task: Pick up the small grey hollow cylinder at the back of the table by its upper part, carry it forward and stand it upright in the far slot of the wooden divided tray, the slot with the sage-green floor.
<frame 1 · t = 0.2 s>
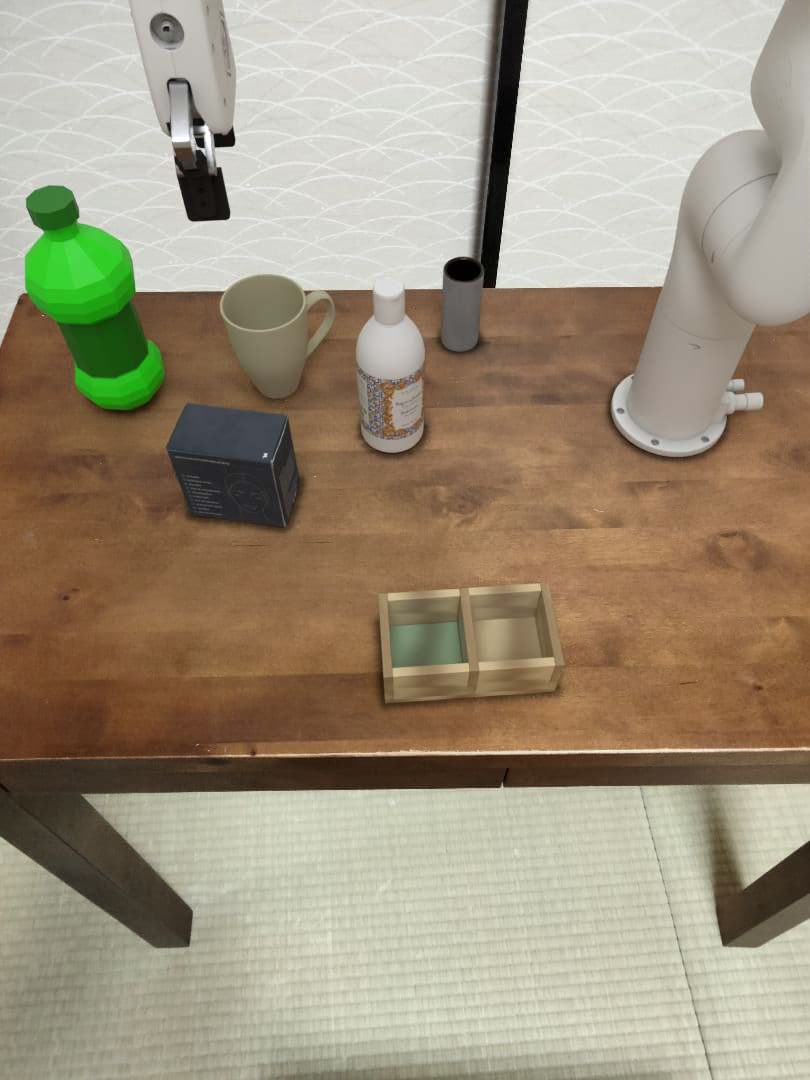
hand: (213, 180, 65), 31 cm above the table, tool pointing down, fingers open, 9 cm apart
box: (246, 498, 86), on the table
grey hollow cylinder: (459, 340, 99), on the table
bath foam: (392, 432, 91), on the table
wooden divided tray: (465, 656, 76), on the table
mug: (285, 379, 96), on the table
plastic bottle: (129, 394, 94), on the table
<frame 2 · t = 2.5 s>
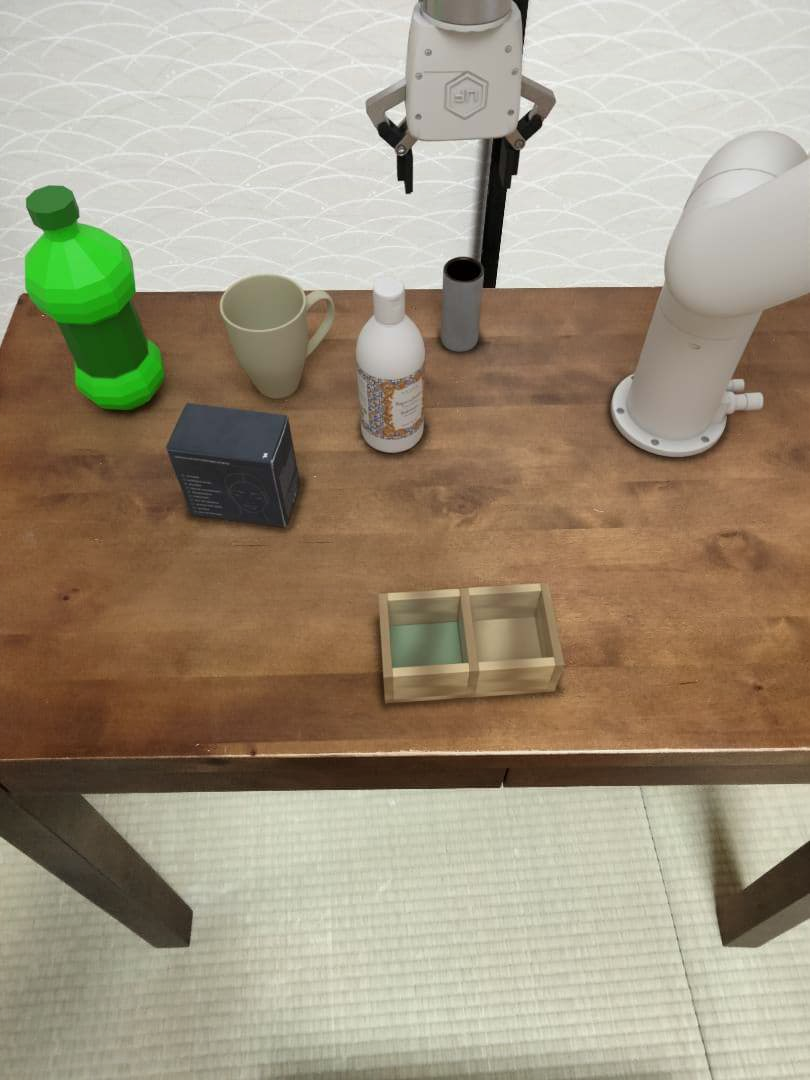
hand: (456, 183, 81), 21 cm above the table, tool pointing down, fingers open, 9 cm apart
nothing on the table moved.
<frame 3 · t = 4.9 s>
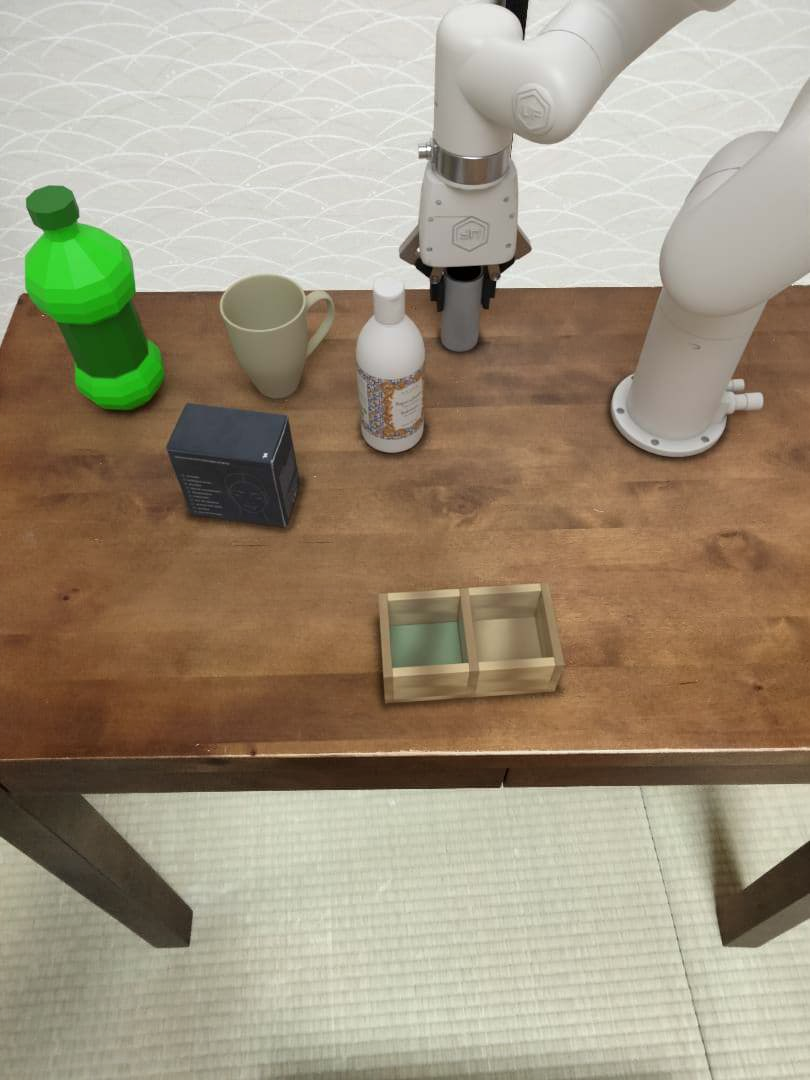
hand: (461, 301, 94), 6 cm above the table, tool pointing down, fingers closed on grey hollow cylinder, 4 cm apart
grey hollow cylinder: (459, 340, 99), on the table, touching gripper
everything else where it was.
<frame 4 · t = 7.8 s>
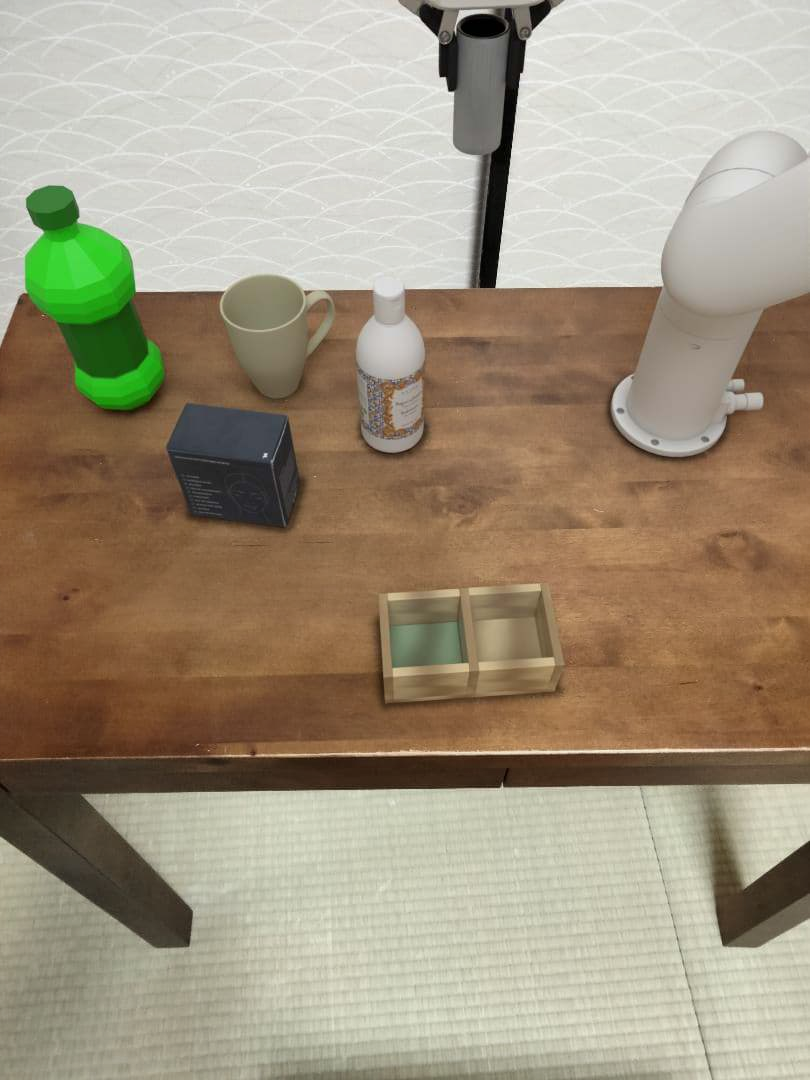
hand: (480, 80, 73), 31 cm above the table, tool pointing down, fingers closed on grey hollow cylinder, 4 cm apart
grey hollow cylinder: (476, 144, 77), point 25 cm above the table, touching gripper
everything else where it was.
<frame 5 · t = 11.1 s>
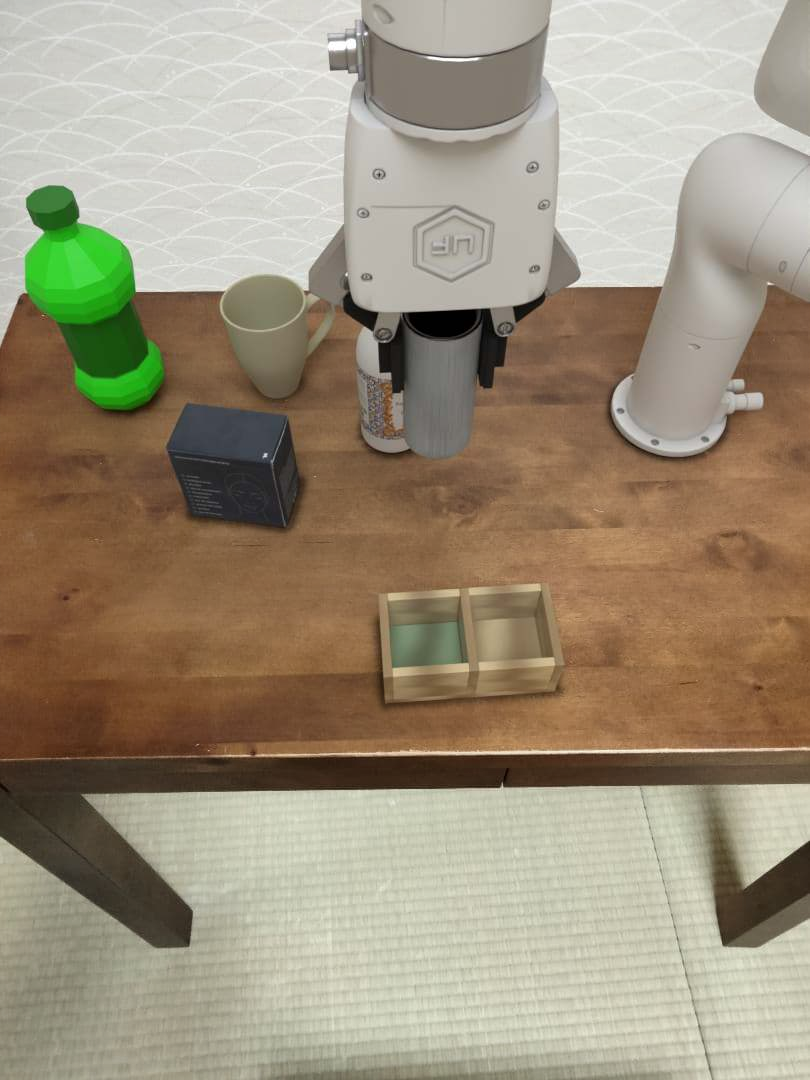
hand: (440, 371, 49), 34 cm above the table, tool pointing down, fingers closed on grey hollow cylinder, 4 cm apart
grey hollow cylinder: (437, 435, 54), point 28 cm above the table, touching gripper
everything else where it was.
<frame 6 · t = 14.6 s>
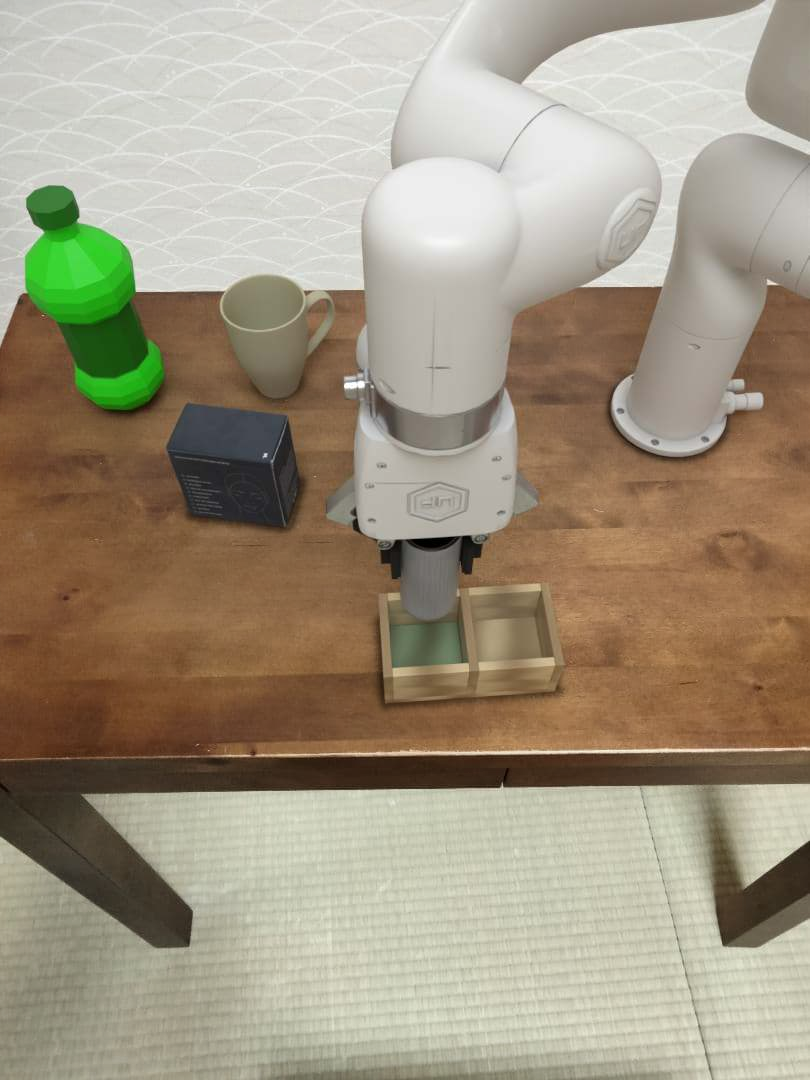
hand: (429, 559, 61), 18 cm above the table, tool pointing down, fingers closed on grey hollow cylinder, 4 cm apart
grey hollow cylinder: (428, 597, 66), point 12 cm above the table, touching gripper
everything else where it was.
when the fingers open (7 cm above the table, at t = 17.4 s): grey hollow cylinder stays where it is, resting on wooden divided tray.
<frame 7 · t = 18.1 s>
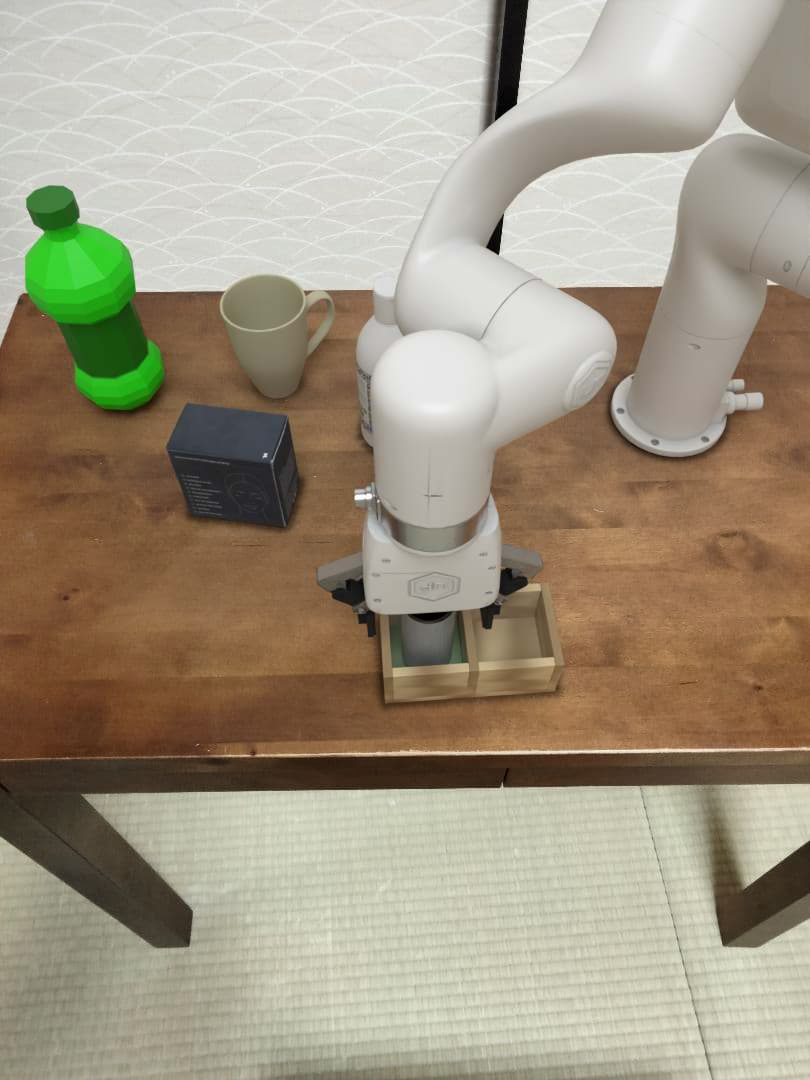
hand: (428, 617, 69), 8 cm above the table, tool pointing down, fingers open, 9 cm apart
grey hollow cylinder: (426, 654, 75), point 1 cm above the table, touching wooden divided tray
everything else where it was.
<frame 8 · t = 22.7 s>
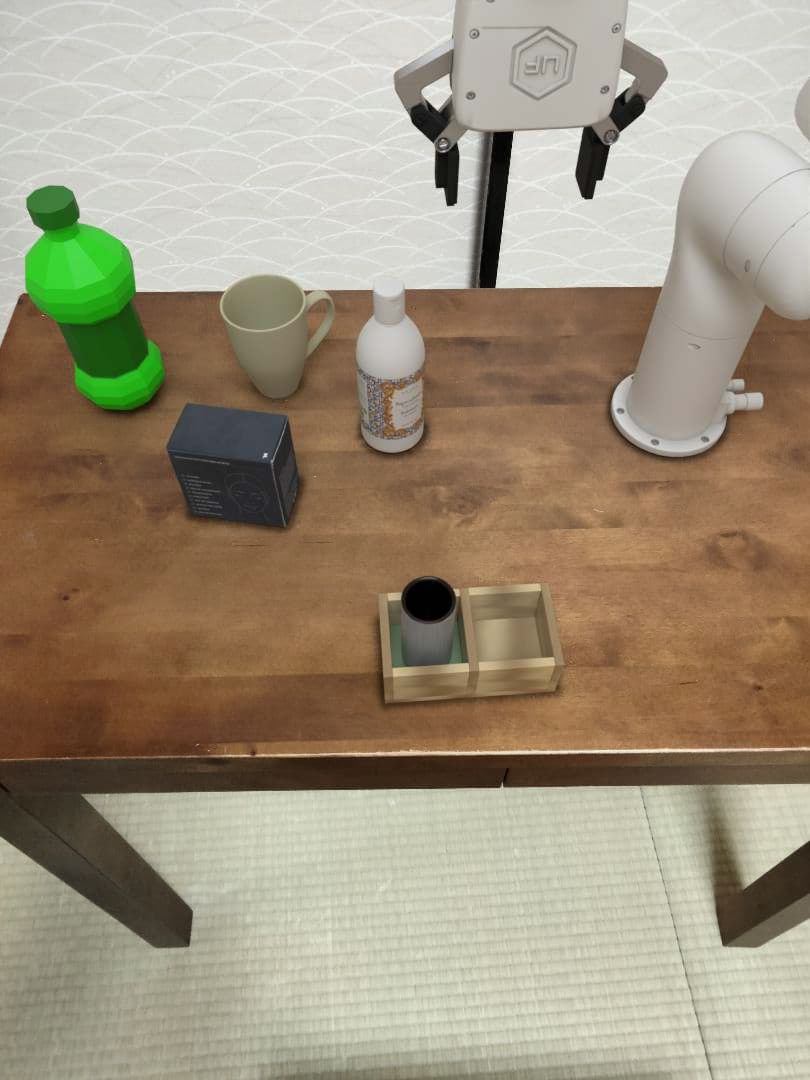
hand: (516, 191, 58), 34 cm above the table, tool pointing down, fingers open, 9 cm apart
nothing on the table moved.
at the end: grey hollow cylinder 0.1 cm from the target spot in the wooden divided tray, point 0.8 cm above the wooden divided tray's base; grey hollow cylinder tilted 0°; the gripper is holding nothing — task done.
